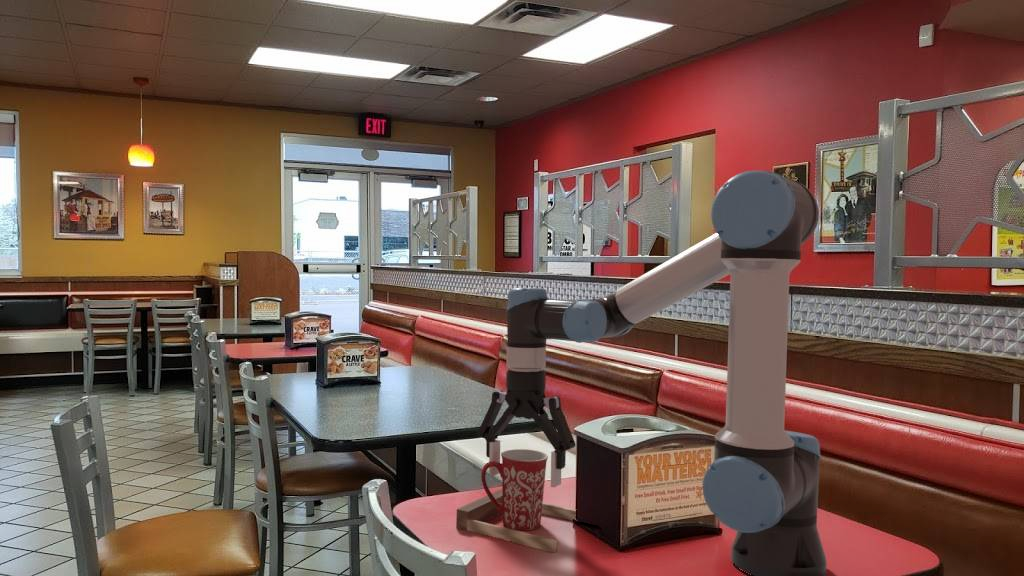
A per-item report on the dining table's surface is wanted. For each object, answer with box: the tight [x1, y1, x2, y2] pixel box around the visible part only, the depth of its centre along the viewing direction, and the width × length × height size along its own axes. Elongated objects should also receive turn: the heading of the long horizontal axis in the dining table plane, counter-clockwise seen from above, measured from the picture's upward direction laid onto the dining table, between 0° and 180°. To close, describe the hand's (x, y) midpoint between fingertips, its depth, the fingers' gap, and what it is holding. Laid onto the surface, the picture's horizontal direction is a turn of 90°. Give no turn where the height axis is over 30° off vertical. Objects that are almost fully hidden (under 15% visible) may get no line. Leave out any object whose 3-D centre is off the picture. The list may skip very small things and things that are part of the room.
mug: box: [480, 448, 549, 531], centre depth 142 cm, size 13×9×14 cm
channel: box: [455, 488, 577, 554], centre depth 141 cm, size 21×17×4 cm
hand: (524, 480), depth 142 cm, fingers open, 13 cm apart
